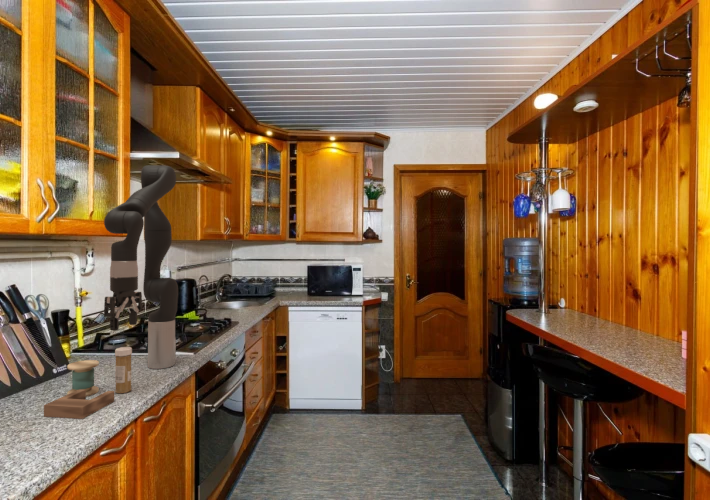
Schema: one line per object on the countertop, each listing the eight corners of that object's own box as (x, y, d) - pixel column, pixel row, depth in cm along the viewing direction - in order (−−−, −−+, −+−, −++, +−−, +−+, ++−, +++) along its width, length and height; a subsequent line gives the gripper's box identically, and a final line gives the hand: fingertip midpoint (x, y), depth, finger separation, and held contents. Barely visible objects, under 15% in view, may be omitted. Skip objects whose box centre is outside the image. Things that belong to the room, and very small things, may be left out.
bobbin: (81, 387, 129) (81, 359, 128) (104, 389, 128) (104, 360, 128) (60, 397, 121) (60, 366, 121) (85, 398, 120) (85, 368, 120)
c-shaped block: (79, 399, 119) (79, 389, 119) (114, 401, 118) (114, 391, 118) (43, 416, 107) (43, 405, 107) (82, 418, 106) (82, 407, 106)
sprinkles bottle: (134, 390, 127) (135, 347, 127) (120, 395, 123) (120, 350, 123) (125, 387, 129) (126, 345, 129) (111, 392, 125) (111, 348, 125)
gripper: (128, 273, 133) (127, 322, 133) (95, 277, 119) (95, 331, 119) (149, 274, 132) (149, 323, 133) (119, 277, 118) (119, 332, 118)
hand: (124, 327), depth 126 cm, fingers open, 8 cm apart
